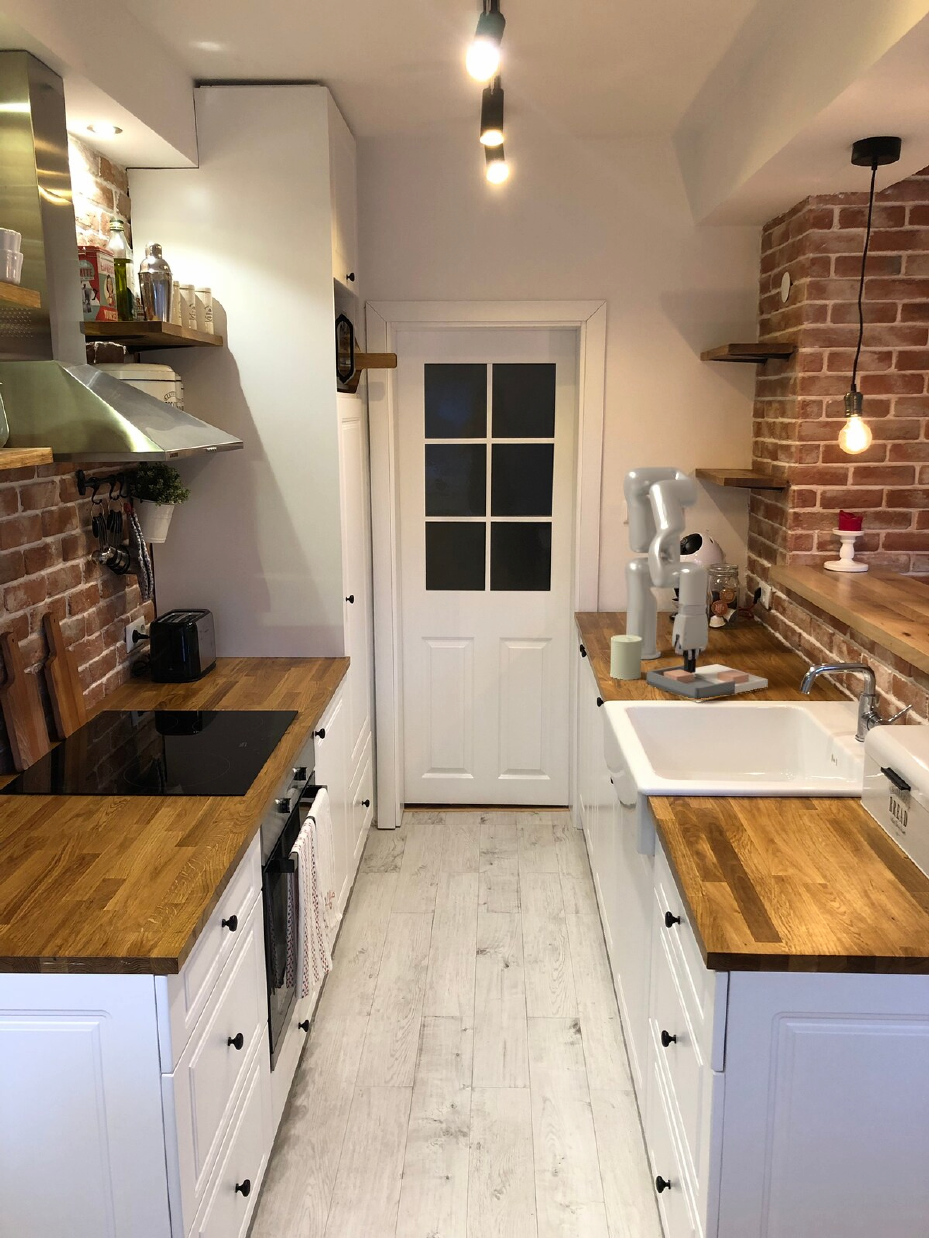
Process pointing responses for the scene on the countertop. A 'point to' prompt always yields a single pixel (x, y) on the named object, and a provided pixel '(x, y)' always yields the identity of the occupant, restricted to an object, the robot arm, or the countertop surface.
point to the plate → (711, 675)
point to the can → (626, 657)
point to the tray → (688, 685)
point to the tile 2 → (733, 676)
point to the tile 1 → (680, 675)
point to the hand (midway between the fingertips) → (689, 671)
